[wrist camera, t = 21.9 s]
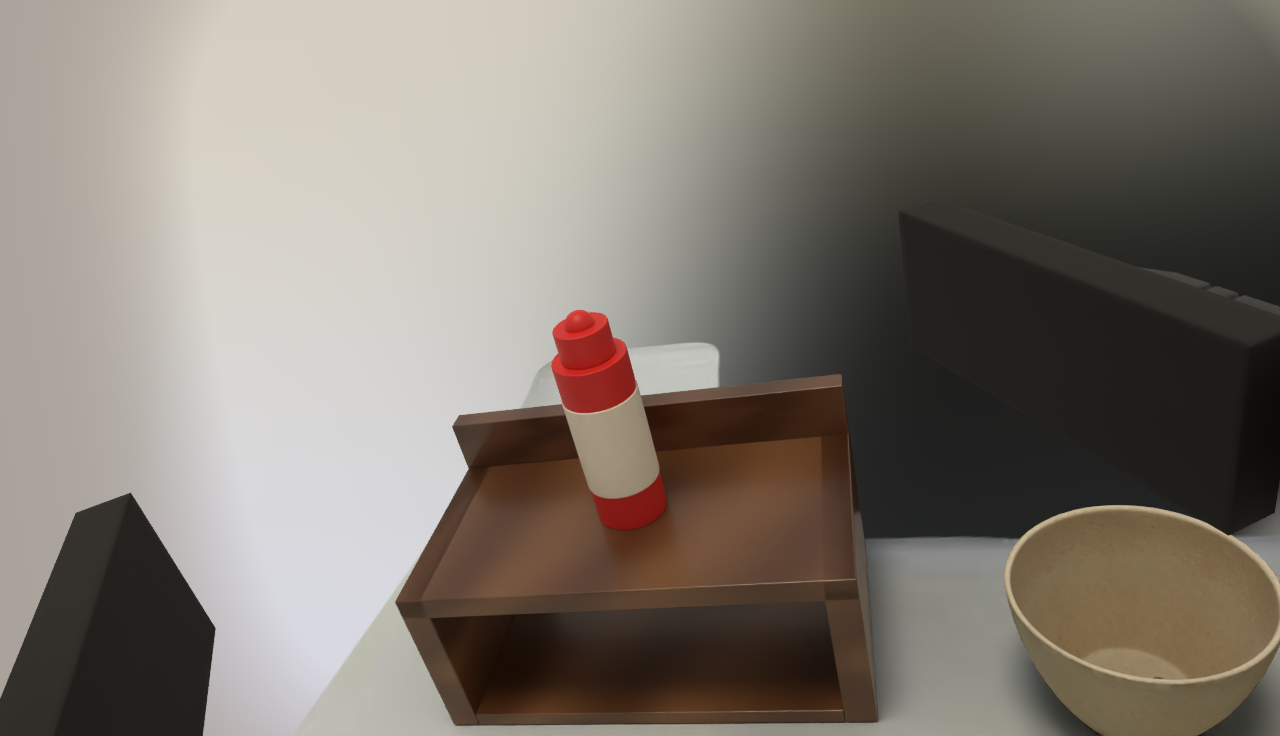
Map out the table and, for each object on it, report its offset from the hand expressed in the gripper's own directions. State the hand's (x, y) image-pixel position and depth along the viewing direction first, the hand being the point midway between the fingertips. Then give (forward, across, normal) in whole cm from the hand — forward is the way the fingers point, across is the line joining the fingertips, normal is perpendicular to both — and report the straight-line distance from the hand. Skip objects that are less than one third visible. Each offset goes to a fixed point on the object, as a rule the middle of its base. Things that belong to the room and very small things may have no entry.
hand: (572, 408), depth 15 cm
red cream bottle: (+23, +5, -20) cm, 31 cm away
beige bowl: (+8, +21, -29) cm, 37 cm away
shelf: (+23, +5, -29) cm, 37 cm away
